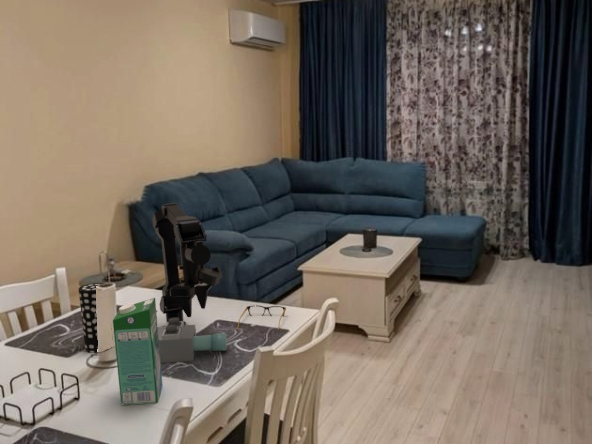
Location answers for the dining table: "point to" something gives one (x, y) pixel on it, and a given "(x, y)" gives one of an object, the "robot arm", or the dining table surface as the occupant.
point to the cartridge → (210, 342)
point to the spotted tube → (89, 316)
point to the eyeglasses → (263, 313)
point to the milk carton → (138, 353)
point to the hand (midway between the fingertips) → (196, 312)
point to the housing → (177, 343)
